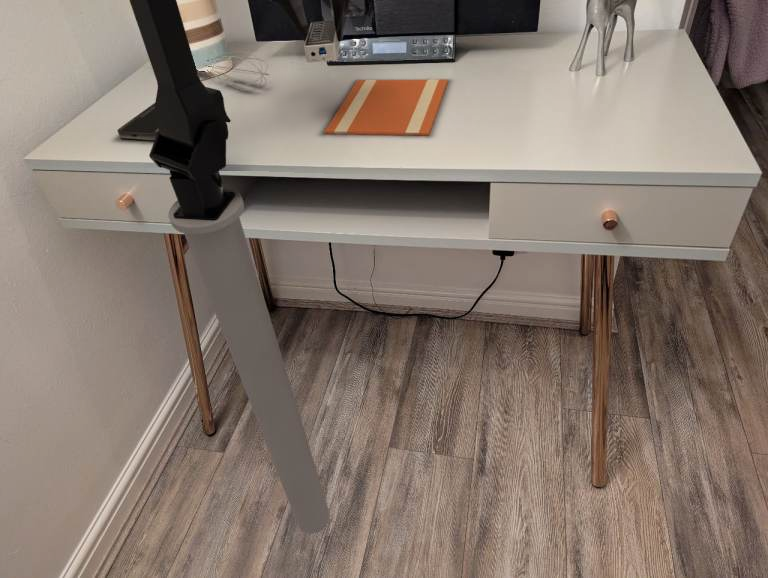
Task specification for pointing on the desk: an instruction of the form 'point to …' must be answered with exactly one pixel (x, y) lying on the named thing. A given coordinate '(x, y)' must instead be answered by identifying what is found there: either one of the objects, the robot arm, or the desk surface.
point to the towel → (389, 107)
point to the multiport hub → (321, 42)
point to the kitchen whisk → (240, 69)
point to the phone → (141, 126)
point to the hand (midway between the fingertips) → (324, 41)
